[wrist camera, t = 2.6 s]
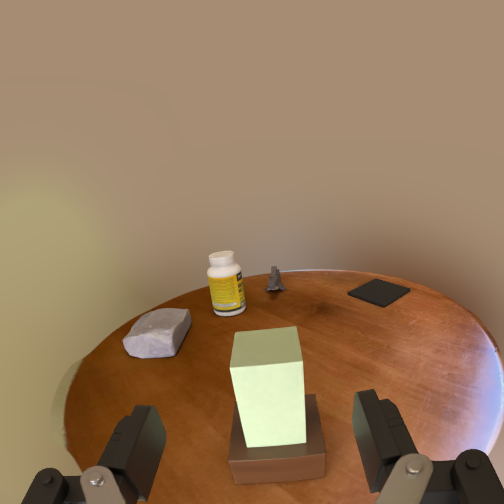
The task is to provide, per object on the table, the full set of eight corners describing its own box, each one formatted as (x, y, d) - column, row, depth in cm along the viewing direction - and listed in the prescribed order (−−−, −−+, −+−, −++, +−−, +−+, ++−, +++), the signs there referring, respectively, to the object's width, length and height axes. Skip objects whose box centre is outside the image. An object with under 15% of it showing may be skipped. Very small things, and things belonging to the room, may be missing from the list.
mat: (410, 290, 56) (410, 288, 56) (383, 307, 52) (383, 305, 52) (375, 280, 64) (375, 278, 63) (347, 294, 59) (347, 292, 59)
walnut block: (324, 477, 22) (326, 453, 21) (235, 484, 23) (227, 461, 22) (315, 419, 30) (314, 393, 29) (240, 426, 31) (235, 400, 29)
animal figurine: (269, 284, 73) (267, 262, 73) (289, 283, 72) (287, 261, 72) (260, 297, 62) (258, 271, 61) (283, 296, 61) (281, 270, 60)
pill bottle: (248, 314, 57) (240, 255, 54) (215, 319, 57) (204, 261, 54) (244, 300, 63) (236, 247, 60) (213, 306, 62) (204, 252, 60)
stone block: (126, 367, 46) (179, 357, 45) (113, 341, 45) (166, 329, 44) (151, 333, 58) (197, 322, 56) (141, 312, 57) (187, 299, 55)
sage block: (306, 442, 23) (302, 361, 20) (247, 447, 23) (229, 367, 21) (301, 405, 28) (296, 325, 25) (249, 409, 28) (235, 331, 26)
